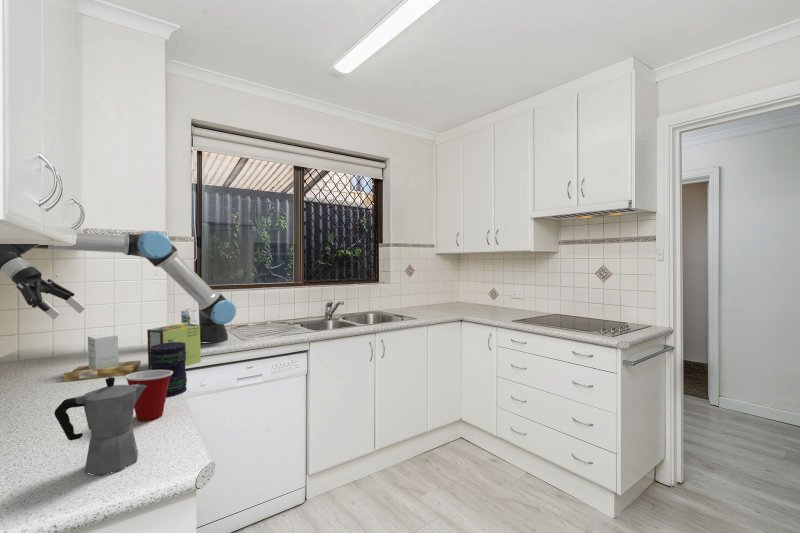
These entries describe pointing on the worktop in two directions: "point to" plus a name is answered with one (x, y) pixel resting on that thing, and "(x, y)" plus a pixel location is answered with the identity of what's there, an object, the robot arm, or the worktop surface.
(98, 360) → the supplement box
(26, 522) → the worktop surface
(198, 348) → the protein box
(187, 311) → the syrup box
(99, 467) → the coffeepot
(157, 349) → the storage jar
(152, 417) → the plastic cup
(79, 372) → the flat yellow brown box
